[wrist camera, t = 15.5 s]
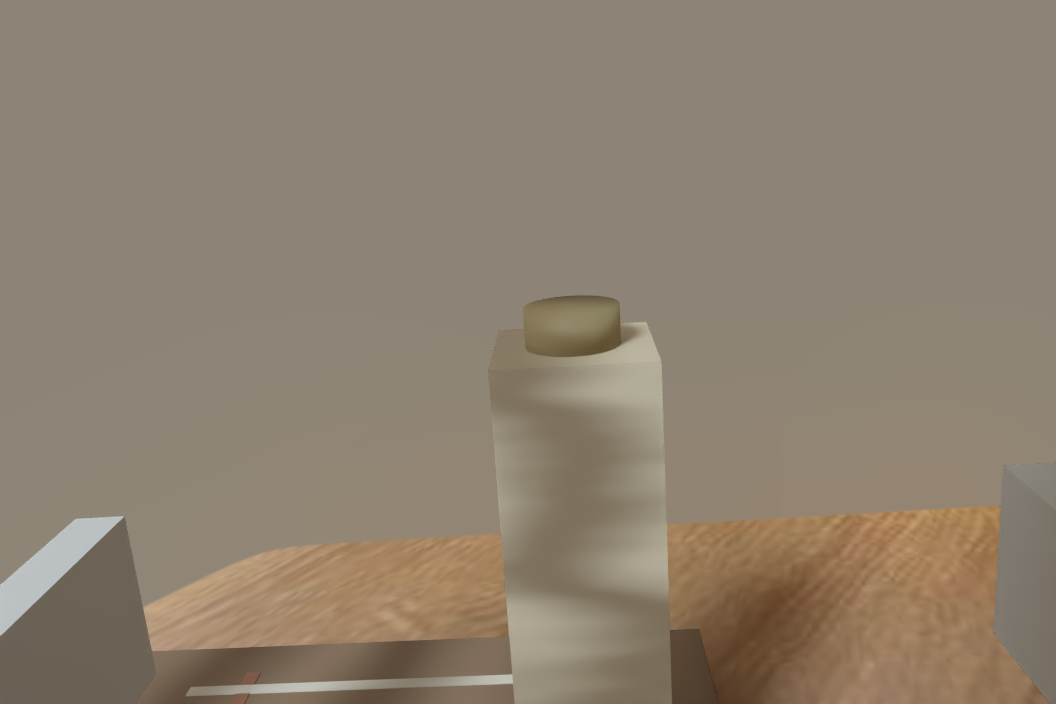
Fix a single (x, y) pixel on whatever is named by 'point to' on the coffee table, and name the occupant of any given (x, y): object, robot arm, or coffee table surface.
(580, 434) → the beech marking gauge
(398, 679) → the grey flat plate
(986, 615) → the coffee table surface
